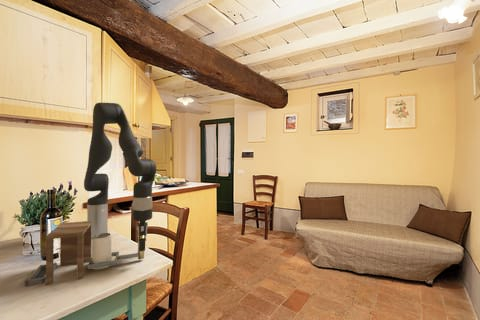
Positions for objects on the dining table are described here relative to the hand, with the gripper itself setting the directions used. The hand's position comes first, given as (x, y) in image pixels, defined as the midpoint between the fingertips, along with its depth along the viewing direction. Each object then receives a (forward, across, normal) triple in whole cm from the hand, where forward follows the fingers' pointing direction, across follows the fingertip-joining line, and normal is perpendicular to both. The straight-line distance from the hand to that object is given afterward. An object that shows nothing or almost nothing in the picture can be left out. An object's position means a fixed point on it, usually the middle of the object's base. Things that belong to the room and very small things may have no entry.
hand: (142, 246), depth 93 cm
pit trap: (+6, 0, -32) cm, 33 cm away
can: (+6, 0, -14) cm, 15 cm away
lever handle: (+5, 0, -9) cm, 10 cm away
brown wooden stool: (+6, 0, -24) cm, 25 cm away
